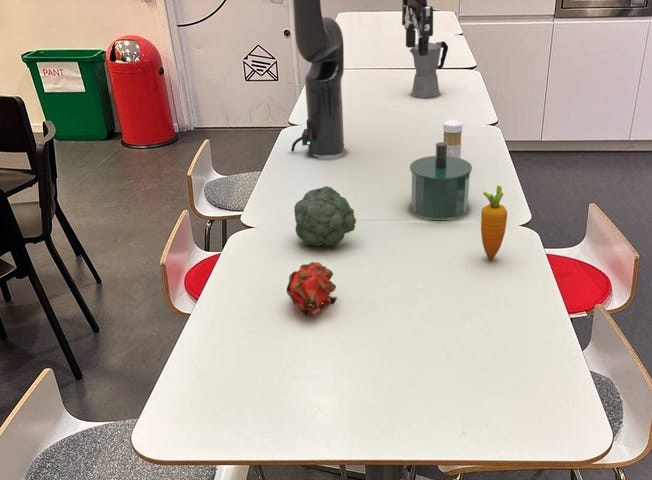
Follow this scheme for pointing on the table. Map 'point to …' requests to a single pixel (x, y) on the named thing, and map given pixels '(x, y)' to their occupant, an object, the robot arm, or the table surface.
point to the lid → (440, 166)
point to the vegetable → (323, 217)
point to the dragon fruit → (311, 287)
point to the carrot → (493, 223)
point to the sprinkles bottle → (453, 137)
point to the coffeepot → (428, 70)
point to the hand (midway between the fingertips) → (416, 51)
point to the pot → (440, 197)
